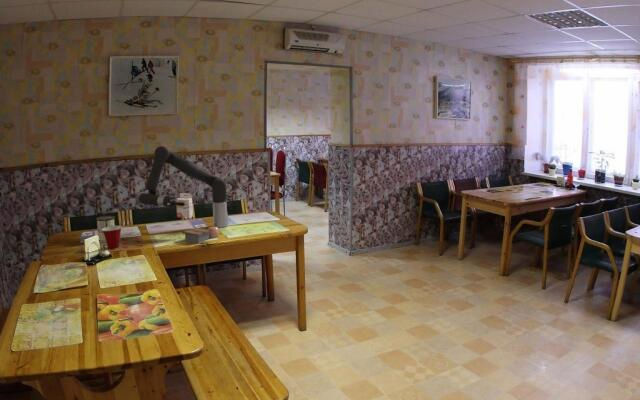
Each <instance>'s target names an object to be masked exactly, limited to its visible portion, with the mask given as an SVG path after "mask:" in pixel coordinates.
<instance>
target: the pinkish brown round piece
mask: <svg viewBox="0 0 640 400" xmlns="http://www.w3.org/2000/svg"><path fill="white" fill-rule="evenodd" d="M207 229H210V230H211V231H210V232H209V239H217V238H219V236H220V235H219V228H218V227H214V226H209V227H208V228H207Z"/></svg>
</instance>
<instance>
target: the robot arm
mask: <svg viewBox="0 0 640 400" xmlns="http://www.w3.org/2000/svg"><path fill="white" fill-rule="evenodd" d="M165 163H167V164H169V165H170V166H173V167H174V168H175V169H177V170H178V171H180V172H181V173H182V174H184V175H186V176H188V177H190V178H192V179H194V180H197V181H199V182H202V183H204V184H206V185H207V186H209V187H211V190H212V191H211V192H212V193H211V195H212V215H213V216H212V217H213V220H212V221H213V227H218V229H222V228H227V227H228V225H229V220H228V219H229V218H228V217H229V216H228V215H229V214H228V213H229V212H228V211H227V210H228V208H227V206H228V205H227V204H228V203H227V184H226V181H225V180H224V179H223V178H220V177H218V176H216V175H214V174H212V173H210V172H208V171H207V170H206V169H204V168H202V167H201V166H199V165H198V164H196V163H194V162H192V161H191V160H189V159H186V158H183V157H181V156H178V155H177V154H175V153H174V152H173V151H170V150H169V148H167V147H166V146H164V145H161V146H160V145H159V146H158V147H156V148H155V150H154V155H153V162H152V166H151V169H150V172H149V173H148V174H149V175H148V176H147V180H146V183H145V185H144V187H145V189H146V190H147V193H146V192H145V193H141V194H140V195H139V196H138V201H139V203H141V204H143V205H146V206H157V207H162V208H170V209H173V208H174V207H176V208H177V206H184V202H177V199H178V198H176V197H175V196H174V195H168V194H162V195H161V194H157V188H158V186H159V181H160V180H161V174H162V171H163V168H164V165H165Z"/></svg>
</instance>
